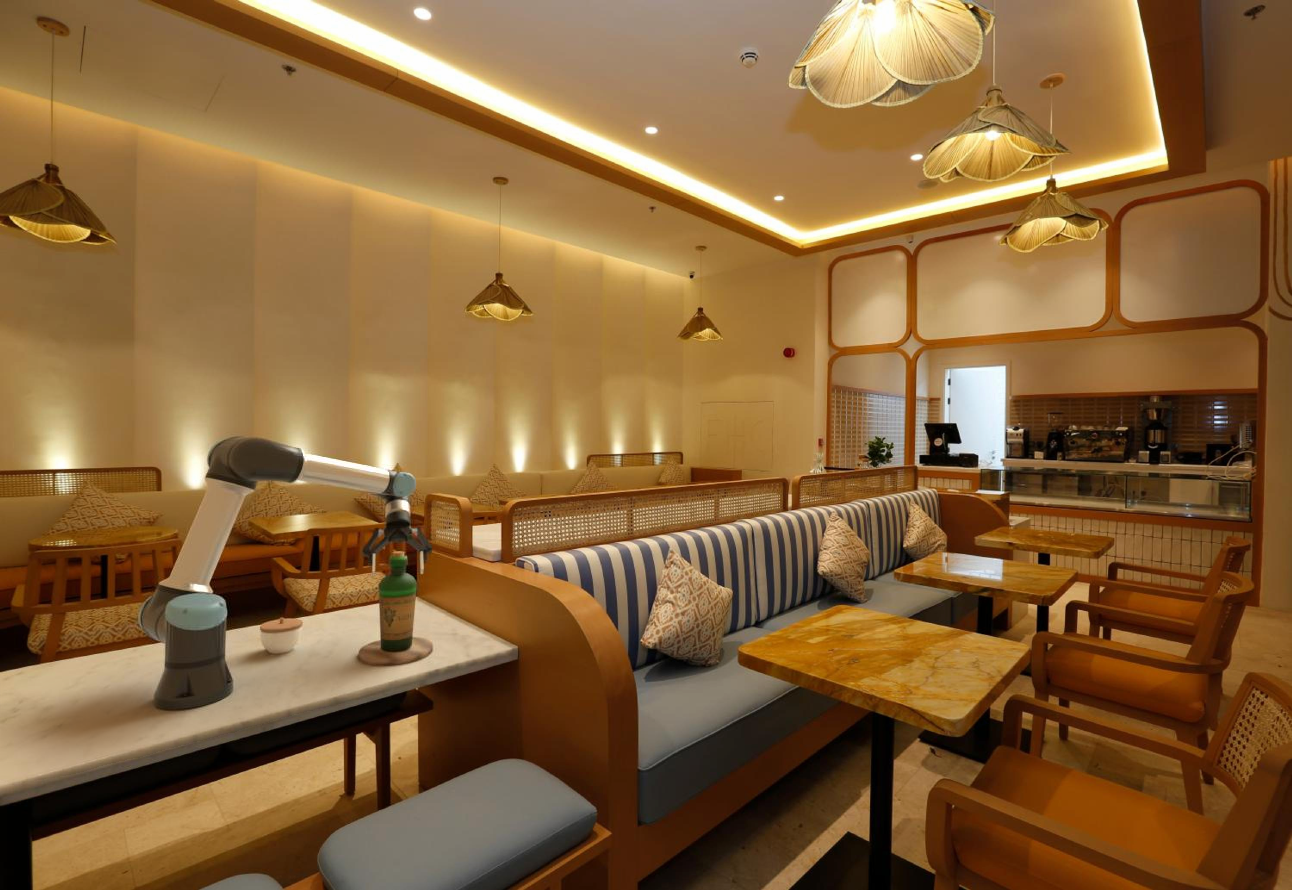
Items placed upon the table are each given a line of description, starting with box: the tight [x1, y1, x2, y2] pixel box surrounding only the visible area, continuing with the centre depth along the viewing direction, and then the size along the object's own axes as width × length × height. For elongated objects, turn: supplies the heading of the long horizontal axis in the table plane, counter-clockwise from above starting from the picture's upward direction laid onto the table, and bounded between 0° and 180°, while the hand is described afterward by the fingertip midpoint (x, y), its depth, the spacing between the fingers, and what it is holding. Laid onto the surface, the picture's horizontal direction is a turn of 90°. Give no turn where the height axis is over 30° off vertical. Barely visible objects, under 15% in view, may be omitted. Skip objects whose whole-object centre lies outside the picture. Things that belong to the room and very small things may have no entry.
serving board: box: [358, 636, 434, 667], centre depth 176 cm, size 20×20×2 cm
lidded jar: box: [259, 617, 303, 655], centre depth 176 cm, size 11×11×9 cm
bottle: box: [378, 550, 418, 652], centre depth 176 cm, size 11×11×28 cm
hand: (398, 572), depth 182 cm, fingers open, 13 cm apart
